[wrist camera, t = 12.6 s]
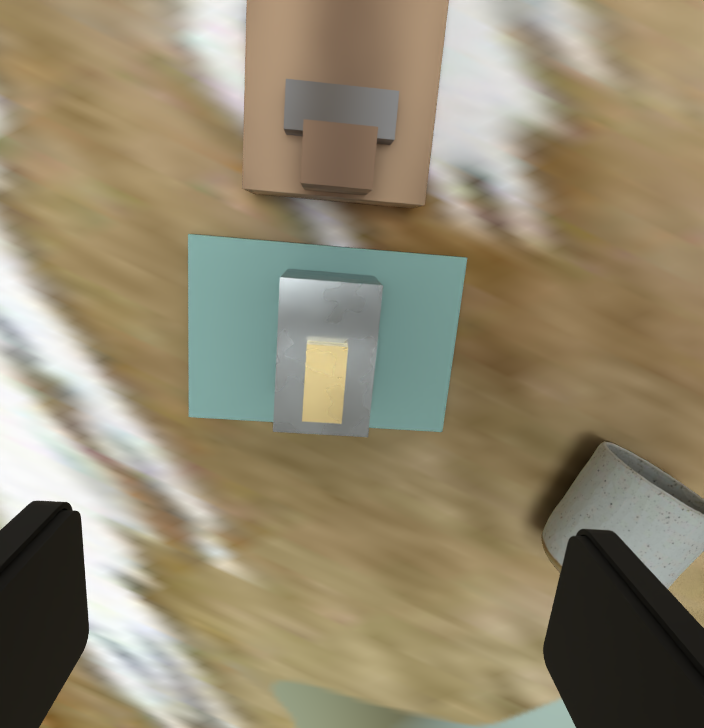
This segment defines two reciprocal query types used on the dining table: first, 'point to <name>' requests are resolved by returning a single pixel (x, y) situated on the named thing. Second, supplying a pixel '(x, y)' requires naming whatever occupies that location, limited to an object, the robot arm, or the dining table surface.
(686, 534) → the ceramic mug
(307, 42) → the plane body
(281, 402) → the lever cap
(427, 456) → the dining table surface
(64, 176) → the dining table surface
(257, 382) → the mat
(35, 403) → the dining table surface
